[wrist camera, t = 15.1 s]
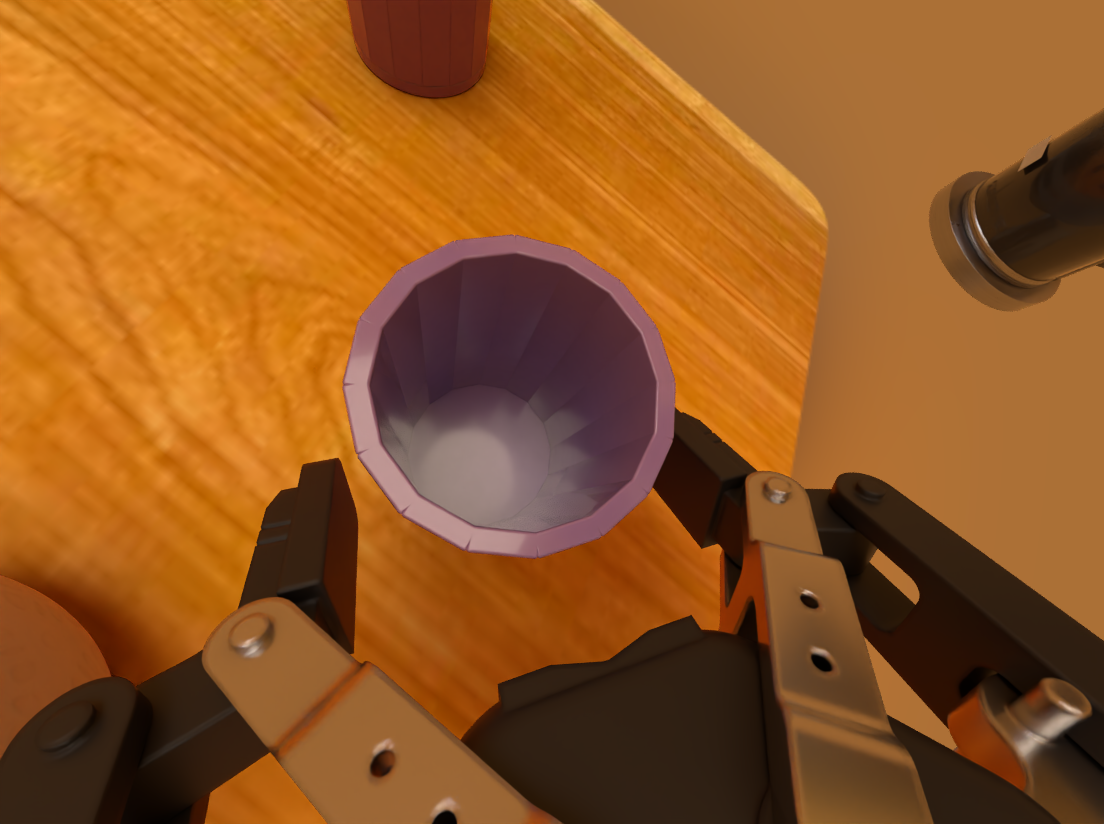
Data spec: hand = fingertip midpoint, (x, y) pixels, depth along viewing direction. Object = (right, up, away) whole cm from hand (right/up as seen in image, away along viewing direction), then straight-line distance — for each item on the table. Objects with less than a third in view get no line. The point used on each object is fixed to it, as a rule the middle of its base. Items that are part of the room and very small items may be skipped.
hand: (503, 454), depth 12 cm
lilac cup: (-2, -1, +6) cm, 6 cm away
